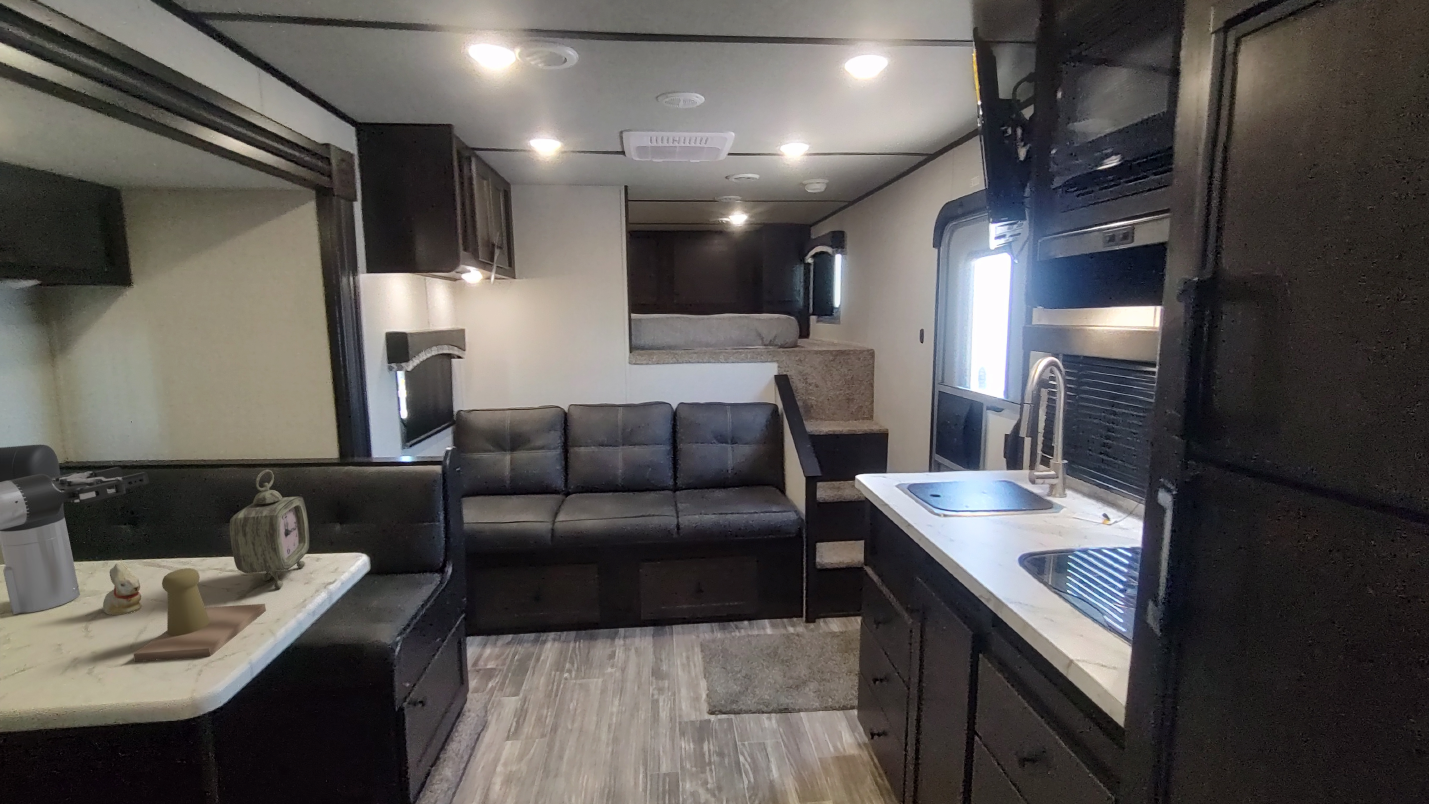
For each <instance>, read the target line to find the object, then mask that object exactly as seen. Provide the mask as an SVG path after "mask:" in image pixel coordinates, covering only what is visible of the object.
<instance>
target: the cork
mask: <svg viewBox="0 0 1429 804" xmlns="http://www.w3.org/2000/svg"><path fill="white" fill-rule="evenodd" d="M199 583H200V573H199V571H198V570H196V569H195V568H190V567H189V568H187V567H186V568H179V569H176V570H174V571H173V570H172V571H170V572H169V573H167V574H166V575H164V576H163V578H162V580H161V586H162V589H163V590H164V591H165V592H166V593H167V618H166V619H167V623H166V625H167V629H166V631H167V634H168V635H171V636H179V635H185V634H189V633H192V632H195V631H198V630H200V629H202V628H204V627H206V626H207V625H208V624H209V623H210V620H209V617H208V615H207V612H206V609H205V603H204V601H203V598H202V595H201V593H200V590H199V587H198V585H199Z"/></svg>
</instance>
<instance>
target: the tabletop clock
mask: <svg viewBox="0 0 1429 804" xmlns="http://www.w3.org/2000/svg"><path fill="white" fill-rule="evenodd" d="M267 473H268V474H270V476H271V479H270V481H269V483H268V482H264V483H263V484H262V487H260V486H259V485H260V484H259V483H260V479H261V478H262V476H263V475H264V474H267ZM274 478H275V475H274V473H273V471H272V470H270V469H263V470H262V471H261V472H259V473H258V474H257V477H256V479H255V488H256V489H257V490H258V491H259V492H258V493H257V494H256V495H255V497H254V498H253V502H252V503H251V504H249V505H246V506H245V507H244V508H243V509H241V510H238V512H236V513H235V514H234V515H233V516H232V517H231V518H230V520H229V535H230V544H231V550H232V556H233V560H234V564H235V565H234V566H235V568H236V569H237V570H238V571H240V572H242V573H244V574H255V573H256V574H257V573H264V574H262V576H261V578H262V580H263V581H264V582H267V581H269V580H270V579H271V578H272V577H273V579H274V581H275V583H273V587H274V589H277V590H278V589H281V588H282V587H283V585H284V582H283V581H281V580H279V575H278V571H287V570H291V568H293V567H294V566H296V567H297V568H299V569H301V568H305V566H306V562H305V560H302V559H303V558H304V557H305V556H306V554H307V553H308V552H309V549H310V530H309V520H308V519H309V518H308V513H307V507H306V503H305V499H304V498H303V496H288V497H283V496H282V495H281V493H280V492H279V491H276V490H274V489H270V488H272V485H274V481H275V479H274Z"/></svg>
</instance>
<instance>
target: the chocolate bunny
mask: <svg viewBox="0 0 1429 804" xmlns="http://www.w3.org/2000/svg"><path fill="white" fill-rule="evenodd" d="M109 578H110V581H111V583H112V584H113V585H114V588H113V589H112V590H111V591H109V592H107V593H106V595H105V596H104V599H103V602H102V608H103V609H102V610H103V612H104V613H105V614H108V615H111V614H112V616H118V615H117V614H120V615H127V613H128V614H132V613H135V612H137V611H139V610H140V609H141V608H142V605H141V603H140V601H141V599H142V595H141V593H140V592H139V591H140V590H141V583H140V581H139V578H138V577H137V576H135V575H134V574H132V573H131V571H130V570H129V569H128V567H127V566H126V565H125V564H124V563H122V562H116V563H115V564H114V566H113V567H112V568H110V569H109ZM134 611H135V612H134ZM131 612H132V613H131Z"/></svg>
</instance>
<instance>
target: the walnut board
mask: <svg viewBox="0 0 1429 804" xmlns="http://www.w3.org/2000/svg"><path fill="white" fill-rule="evenodd" d="M205 609H206V612H207V615H208V617H209V620H210V623H209V624H208V625H207V626H206V627H204V628H202V629H200V630H198V631H195V632H192V633H189V634H185V635H179V636H171V635H168V634H167V630H166V631H165V632H162V633H161V634H159V636H157V637H156V638H154V639H152V640H151V641H150V642H148V643H147V644H146V645H144V646H142V647H141V648H140V649H138V650H136V651H135V652H134V653H133V658H134V662H144V661H143V660H149V661H157V660H156V659H163V660H174V659H173V658H177V659H189V657H190V658H203V657H204V658H205V657H211V656H213V654H215V653H216V652H218V650H220V649H221V648H223V646H225V645H226V644H227V643H229V642H230V641H231V640H232V639H233V638H234V637H236V636H237V635H238V634H239V633H241V632H242V631H243V630H244V629H246V626H247V625H248V626H249V625H251V624H252V623H253V622H254V621H256V620H257V619H258V618H259V617H260V616H262V615H263V614H264V613H265V612H266V611H267V609H266V603H254V604H252V603H251V604H242V605H241V604H240V605H239V604H238V605H237V604H236V605H223V606H208V607H205ZM257 617H258V618H257ZM252 621H253V622H252ZM251 622H252V623H251ZM248 626H247V627H248Z"/></svg>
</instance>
